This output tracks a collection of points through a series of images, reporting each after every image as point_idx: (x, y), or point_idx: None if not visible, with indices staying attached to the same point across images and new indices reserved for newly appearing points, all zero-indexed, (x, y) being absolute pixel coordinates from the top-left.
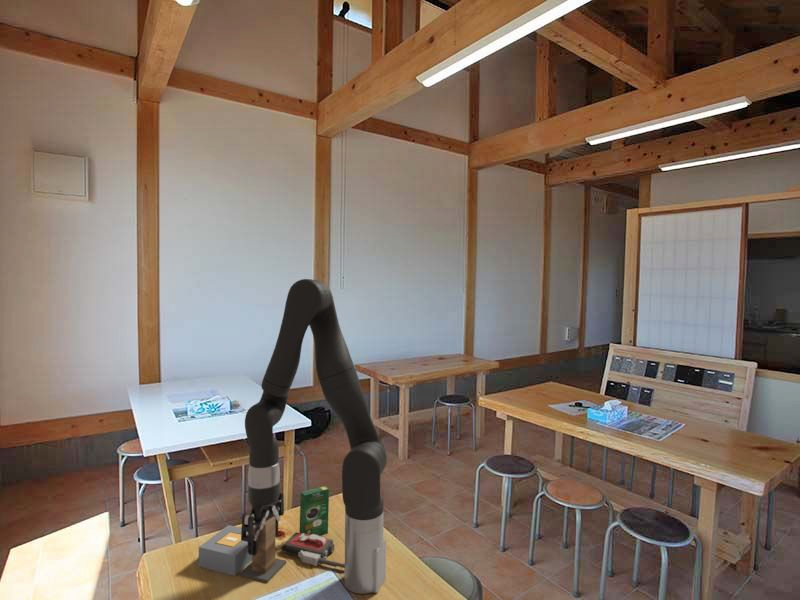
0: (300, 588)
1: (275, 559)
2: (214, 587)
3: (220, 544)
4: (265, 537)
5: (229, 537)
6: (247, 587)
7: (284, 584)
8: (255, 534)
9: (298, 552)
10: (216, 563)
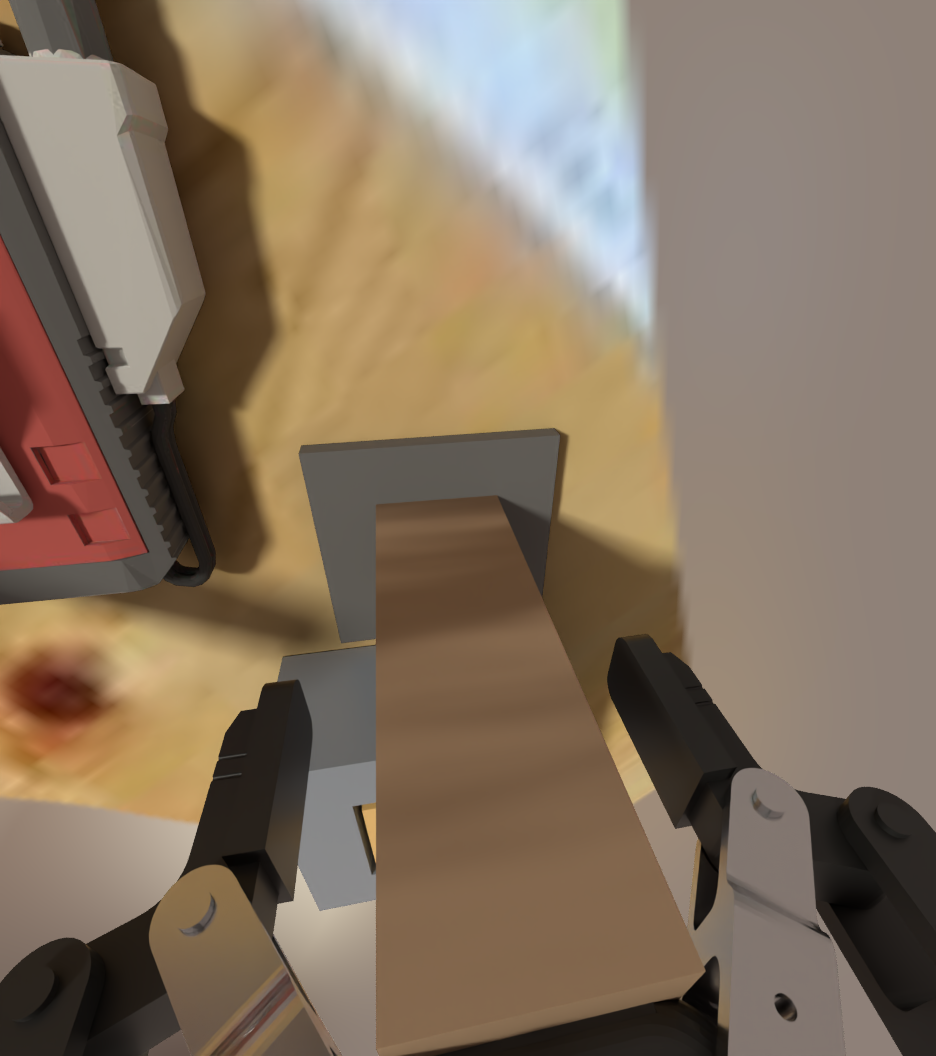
0: (554, 73)
1: (330, 534)
2: None
3: None
4: (600, 740)
5: None
6: (619, 510)
7: (539, 287)
8: (804, 862)
9: (156, 411)
10: None
